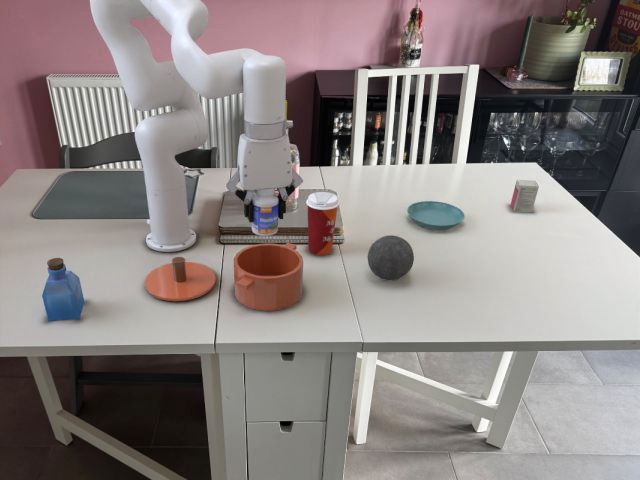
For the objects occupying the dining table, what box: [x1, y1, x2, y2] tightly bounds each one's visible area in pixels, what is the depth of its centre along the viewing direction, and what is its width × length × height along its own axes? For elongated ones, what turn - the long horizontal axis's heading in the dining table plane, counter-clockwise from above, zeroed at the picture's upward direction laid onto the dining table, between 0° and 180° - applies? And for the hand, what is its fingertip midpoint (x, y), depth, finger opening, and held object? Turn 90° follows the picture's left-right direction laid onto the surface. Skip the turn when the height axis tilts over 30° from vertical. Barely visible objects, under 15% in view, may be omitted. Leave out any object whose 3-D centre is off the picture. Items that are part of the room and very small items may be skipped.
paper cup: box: [305, 191, 340, 257], centre depth 136 cm, size 8×8×14 cm
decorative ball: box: [367, 234, 415, 281], centre depth 126 cm, size 10×10×10 cm
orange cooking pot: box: [233, 242, 304, 312], centre depth 122 cm, size 15×20×8 cm
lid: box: [144, 256, 217, 302], centre depth 125 cm, size 16×16×6 cm
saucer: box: [406, 200, 466, 231], centre depth 151 cm, size 15×15×3 cm
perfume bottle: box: [41, 257, 85, 322], centre depth 115 cm, size 6×6×12 cm
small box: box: [509, 179, 540, 213], centre depth 156 cm, size 5×4×8 cm
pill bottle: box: [251, 188, 279, 237], centre depth 113 cm, size 5×5×10 cm
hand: (264, 217), depth 114 cm, fingers closed on pill bottle, 5 cm apart
